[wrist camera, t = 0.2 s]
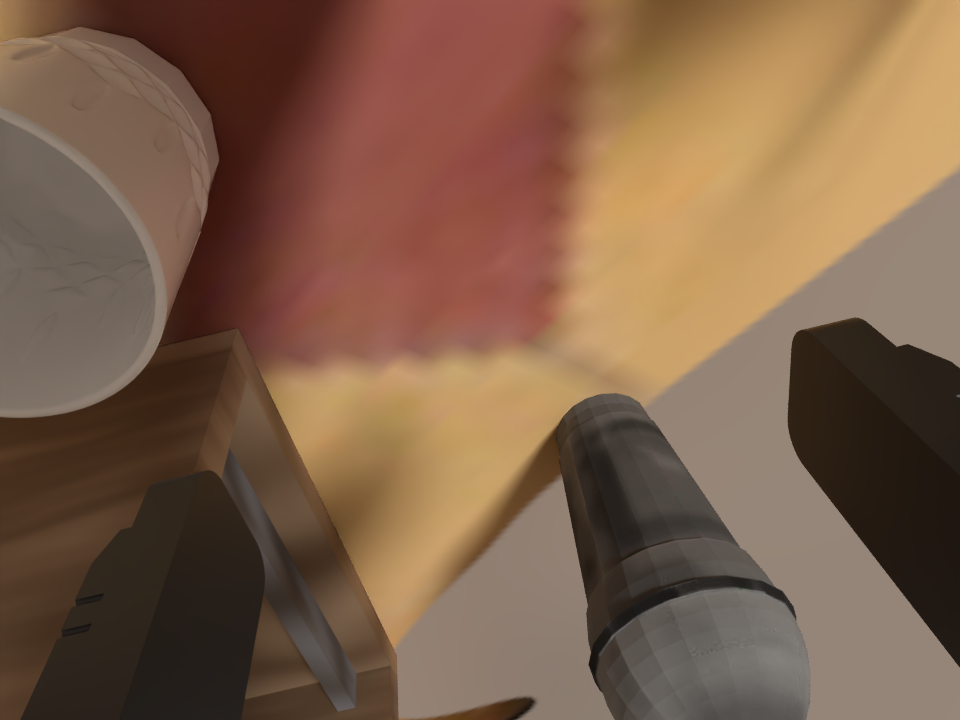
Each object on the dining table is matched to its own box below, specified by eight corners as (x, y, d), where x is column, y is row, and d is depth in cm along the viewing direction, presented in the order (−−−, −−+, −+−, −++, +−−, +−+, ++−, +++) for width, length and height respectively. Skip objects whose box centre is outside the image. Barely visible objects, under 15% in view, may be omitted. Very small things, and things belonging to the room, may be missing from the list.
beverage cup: (559, 505, 36) (716, 1026, 19) (503, 410, 32) (641, 970, 15) (692, 449, 35) (976, 952, 18) (651, 344, 31) (970, 870, 14)
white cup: (173, -23, 21) (41, 36, 12) (272, 216, 25) (223, 376, 17) (-79, 40, 21) (-375, 141, 13) (64, 268, 25) (-84, 450, 17)
